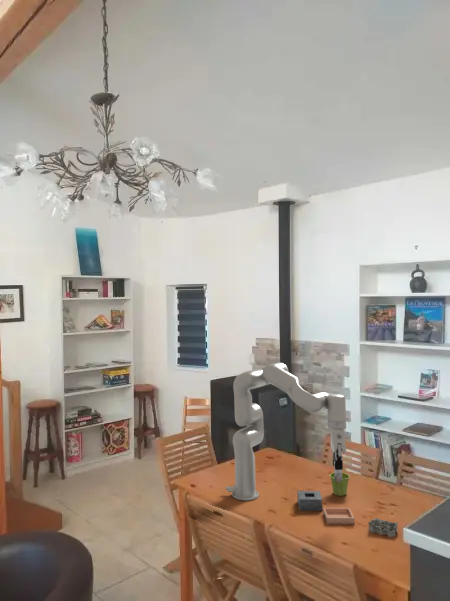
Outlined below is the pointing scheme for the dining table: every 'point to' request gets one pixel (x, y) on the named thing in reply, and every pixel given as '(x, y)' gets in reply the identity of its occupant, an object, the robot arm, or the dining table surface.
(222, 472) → the dining table surface
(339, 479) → the pin
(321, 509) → the socket block
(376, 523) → the egg carton
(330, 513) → the tray
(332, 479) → the plant pot
